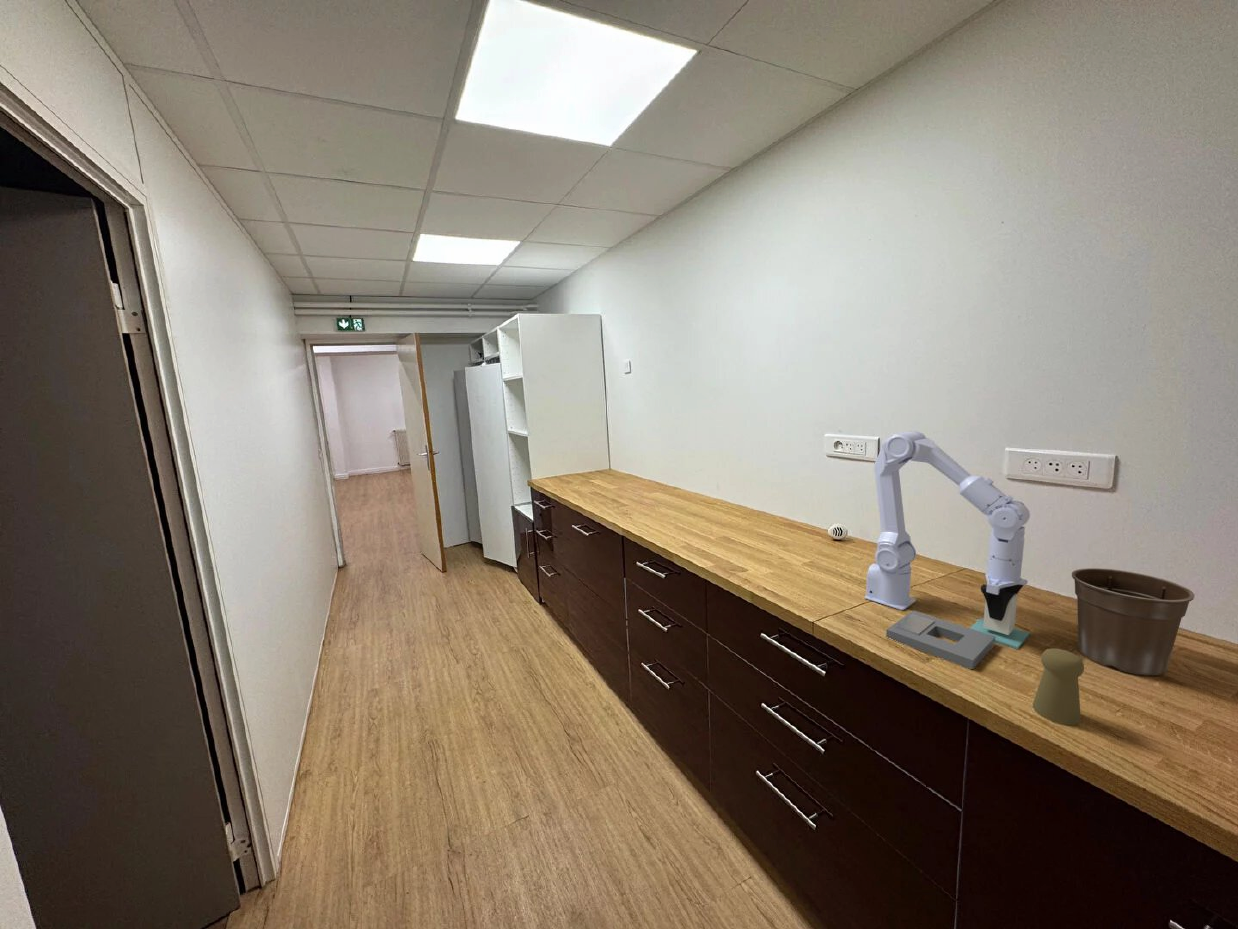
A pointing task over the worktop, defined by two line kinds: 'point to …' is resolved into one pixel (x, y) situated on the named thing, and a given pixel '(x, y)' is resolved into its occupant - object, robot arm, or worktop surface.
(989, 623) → the plug
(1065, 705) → the cork
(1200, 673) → the worktop surface
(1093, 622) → the plant pot
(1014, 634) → the mat
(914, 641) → the grey slotted board
